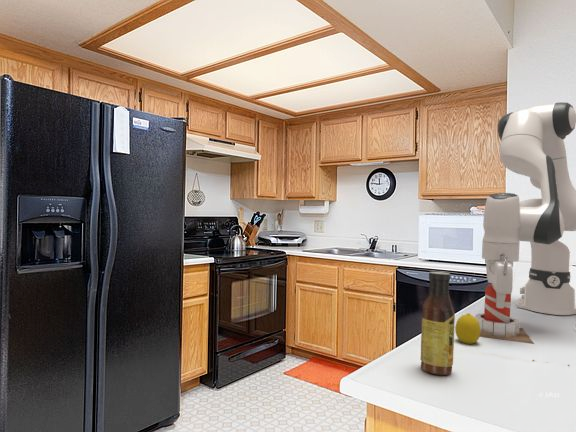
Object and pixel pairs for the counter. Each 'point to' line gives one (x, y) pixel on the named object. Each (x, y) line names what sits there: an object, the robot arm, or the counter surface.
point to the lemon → (467, 329)
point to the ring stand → (521, 338)
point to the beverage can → (491, 309)
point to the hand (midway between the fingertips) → (497, 304)
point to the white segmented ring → (498, 327)
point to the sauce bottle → (438, 327)
